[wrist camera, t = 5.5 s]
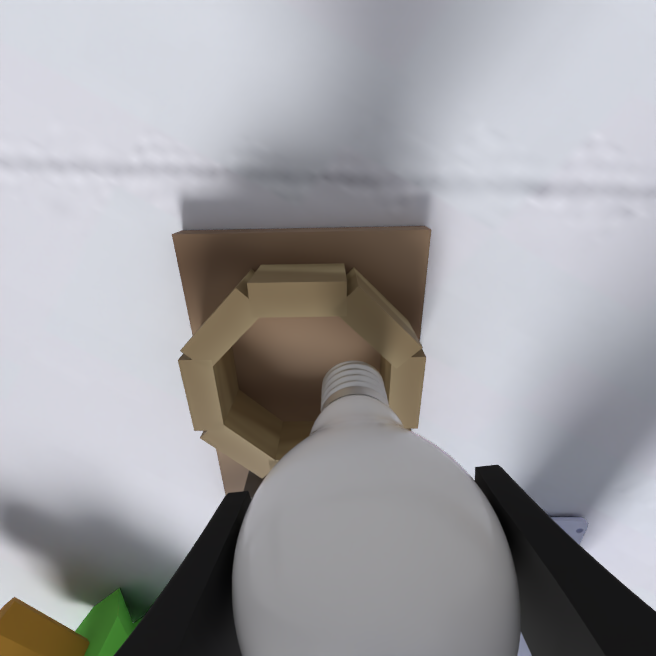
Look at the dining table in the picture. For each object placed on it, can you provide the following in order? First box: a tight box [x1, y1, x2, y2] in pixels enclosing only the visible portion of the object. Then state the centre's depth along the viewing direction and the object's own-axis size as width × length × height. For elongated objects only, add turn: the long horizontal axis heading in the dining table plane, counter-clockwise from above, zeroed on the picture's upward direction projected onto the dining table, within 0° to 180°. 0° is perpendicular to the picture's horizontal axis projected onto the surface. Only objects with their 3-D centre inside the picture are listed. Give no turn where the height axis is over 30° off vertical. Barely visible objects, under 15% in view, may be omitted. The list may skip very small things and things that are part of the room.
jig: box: [172, 226, 431, 500], centre depth 19 cm, size 20×12×4 cm, turn 1°
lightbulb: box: [232, 361, 521, 656], centre depth 10 cm, size 6×6×11 cm
